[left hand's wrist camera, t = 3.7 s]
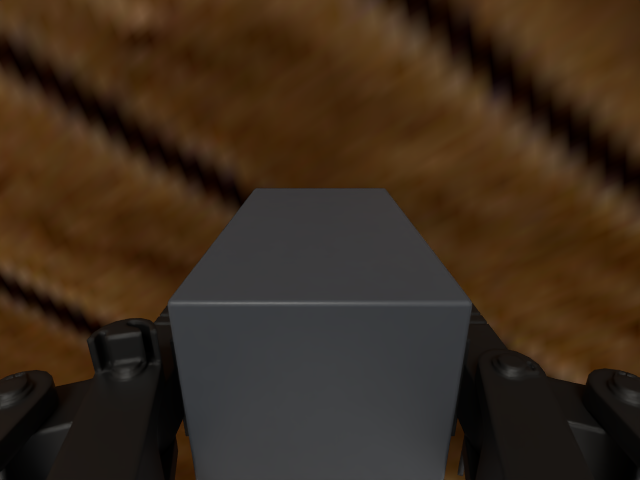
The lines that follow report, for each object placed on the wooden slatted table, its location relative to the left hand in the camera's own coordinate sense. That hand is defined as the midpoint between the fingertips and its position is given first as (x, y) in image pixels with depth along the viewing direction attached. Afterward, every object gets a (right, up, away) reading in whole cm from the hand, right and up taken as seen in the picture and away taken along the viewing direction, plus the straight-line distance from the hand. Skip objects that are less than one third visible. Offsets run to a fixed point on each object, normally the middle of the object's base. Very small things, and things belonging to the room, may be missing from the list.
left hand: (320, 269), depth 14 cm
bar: (0, -8, +3) cm, 9 cm away
